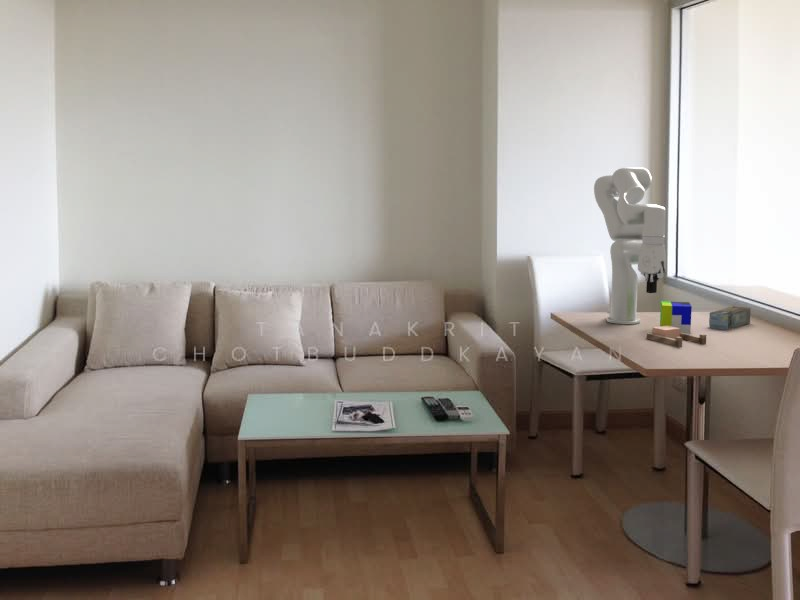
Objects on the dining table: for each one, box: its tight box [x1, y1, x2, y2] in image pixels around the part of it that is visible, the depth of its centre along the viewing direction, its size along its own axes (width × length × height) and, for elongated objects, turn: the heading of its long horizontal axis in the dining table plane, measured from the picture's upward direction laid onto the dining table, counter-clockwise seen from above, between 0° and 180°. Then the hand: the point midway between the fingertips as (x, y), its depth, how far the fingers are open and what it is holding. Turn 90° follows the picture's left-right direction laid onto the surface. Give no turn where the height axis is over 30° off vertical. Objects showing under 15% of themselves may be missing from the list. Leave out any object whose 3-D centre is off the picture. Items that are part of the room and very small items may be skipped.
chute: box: [646, 332, 707, 348], centre depth 331 cm, size 16×12×3 cm
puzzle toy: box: [659, 301, 693, 335], centre depth 350 cm, size 10×10×10 cm
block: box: [652, 326, 680, 339], centre depth 336 cm, size 6×7×4 cm
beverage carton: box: [708, 305, 751, 331], centre depth 361 cm, size 8×19×7 cm, turn 136°
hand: (651, 292), depth 341 cm, fingers closed
